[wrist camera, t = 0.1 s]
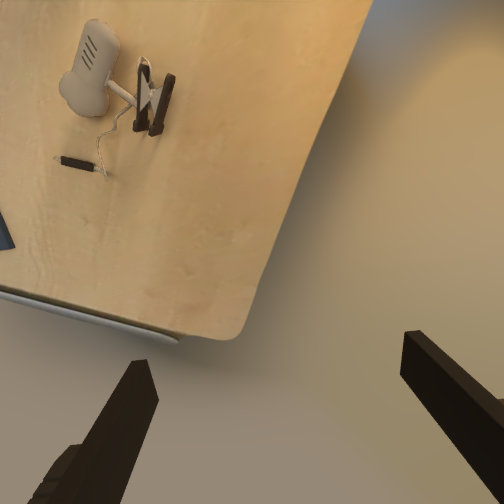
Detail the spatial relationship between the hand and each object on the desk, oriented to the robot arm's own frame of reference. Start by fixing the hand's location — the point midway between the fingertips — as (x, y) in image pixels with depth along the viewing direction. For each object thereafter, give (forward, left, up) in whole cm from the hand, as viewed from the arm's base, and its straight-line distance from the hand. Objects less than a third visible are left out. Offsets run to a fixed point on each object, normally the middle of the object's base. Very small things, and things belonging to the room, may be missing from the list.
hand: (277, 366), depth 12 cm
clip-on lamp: (-18, -17, -28) cm, 38 cm away
